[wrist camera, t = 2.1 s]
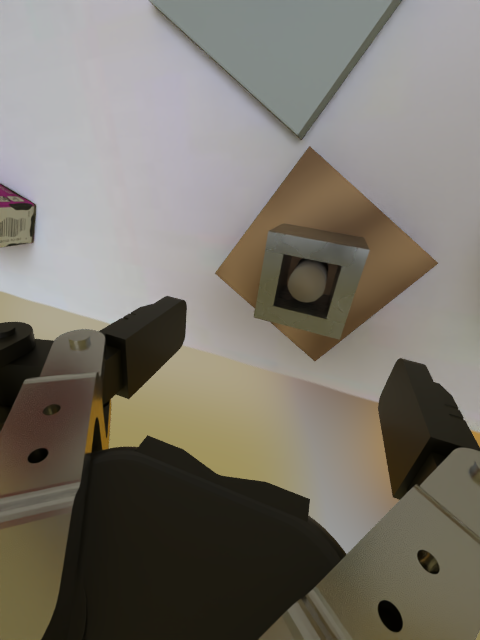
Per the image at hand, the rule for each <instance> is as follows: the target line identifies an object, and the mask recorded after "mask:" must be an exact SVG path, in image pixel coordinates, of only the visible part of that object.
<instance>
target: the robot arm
mask: <svg viewBox="0 0 480 640" xmlns="http://www.w3.org/2000/svg"><path fill="white" fill-rule="evenodd" d="M186 310H187V305H186V302H185V301H184V300H181V299H177V298H173V297H169V296H166V297H164V298H162V299H161V300H159V301H157V302H156V303H154V304H151V305H147V306H143V307H140V308H138V309H136V310H135V311H133V312H131V314H128V315H126V316H124V317H123V318H121V319H119V320H117V321H116V322H114V323H112V324H111V325H109V326H107V327H106V328H104V329H102V330H100V331H99V332H98V331H95V330H89V329H81V330H74V331H70V332H67V333H64V334H62V335H60V336H59V337H57V338H56V339H55V340H54V341H51V340H40V339H35V338H34V334H33V329H32V327H31V326H30V325H29V324H26V323H22V322H5V323H0V640H475V639H476V637H477V634H478V633H479V631H480V447H479V446H478V444H477V442H476V440H475V438H474V436H473V434H472V432H471V431H470V429H469V427H468V425H467V423H466V421H465V420H463V416H462V414H461V412H460V410H458V406H457V405H456V403H455V401H454V399H453V397H452V395H450V394H449V393H448V392H447V391H446V390H445V389H444V388H443V387H442V386H441V385H440V384H439V383H435V382H433V379H432V377H431V375H430V373H429V371H428V369H427V367H426V365H424V364H420V363H417V362H413V361H409V360H405V359H402V358H400V359H398V360H397V362H396V363H395V365H394V367H393V369H392V372H391V374H390V376H389V378H388V380H387V382H386V385H385V387H384V389H383V391H382V393H381V396H380V400H379V406H378V411H379V417H380V423H381V429H382V435H383V441H384V447H385V453H386V459H387V465H388V471H389V476H390V483H391V489H392V495H393V497H394V498H397V499H399V500H400V501H399V502H398V503H397V504H396V505H395V506H394V507H393V508H392V509H391V510H390V511H389V512H388V513H387V514H386V515H385V516H384V517H383V518H382V519H381V520H380V521H379V522H378V523H377V524H376V525H375V527H373V528H372V529H371V530H370V531H369V532H368V533H367V534H366V535H365V536H364V538H363V539H361V540H360V541H359V543H358V544H357V545H356V546H355V547H354V548H353V549H352V550H351V551H350V552H349V553H348V554H346V553H345V551H344V550H343V549H342V548H341V547H340V545H339V544H338V543H337V541H336V540H335V539H334V538H333V537H332V536H331V535H330V534H329V533H328V532H327V531H326V529H324V528H323V527H322V526H321V525H320V524H319V523H317V522H316V521H315V520H314V519H312V518H311V517H310V516H308V512H309V503H310V499H308V498H305V497H303V496H300V495H298V494H295V493H293V492H290V491H287V490H284V489H282V488H280V487H277V486H275V485H272V484H270V483H267V482H261V481H255V480H247V479H240V478H233V477H226V476H221V475H218V474H216V473H214V472H213V471H212V470H211V469H209V468H208V467H206V466H205V465H204V464H202V463H201V462H199V461H198V460H197V459H196V458H194V457H193V456H191V455H190V454H189V453H187V452H186V451H184V450H183V449H180V448H178V447H175V446H173V445H170V444H168V443H165V442H163V441H160V440H158V439H155V438H153V437H150V436H147V437H146V438H145V439H144V441H143V442H142V443H141V444H140V446H139V447H118V448H117V447H116V448H110V449H109V436H110V421H111V398H112V397H113V396H114V395H119V396H122V397H125V398H127V399H129V398H130V397H131V396H132V395H133V394H134V393H135V392H137V391H138V390H139V388H141V387H142V386H143V385H144V384H145V383H146V382H147V381H148V380H149V379H150V378H151V377H152V376H153V375H154V374H155V373H156V372H157V371H158V370H159V369H160V368H161V367H162V366H163V365H164V364H165V363H166V362H167V361H168V360H169V359H170V358H171V357H172V356H173V355H174V354H175V353H176V352H177V351H178V350H179V349H180V348H181V346H182V344H183V342H184V339H185V329H186Z"/></svg>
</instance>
